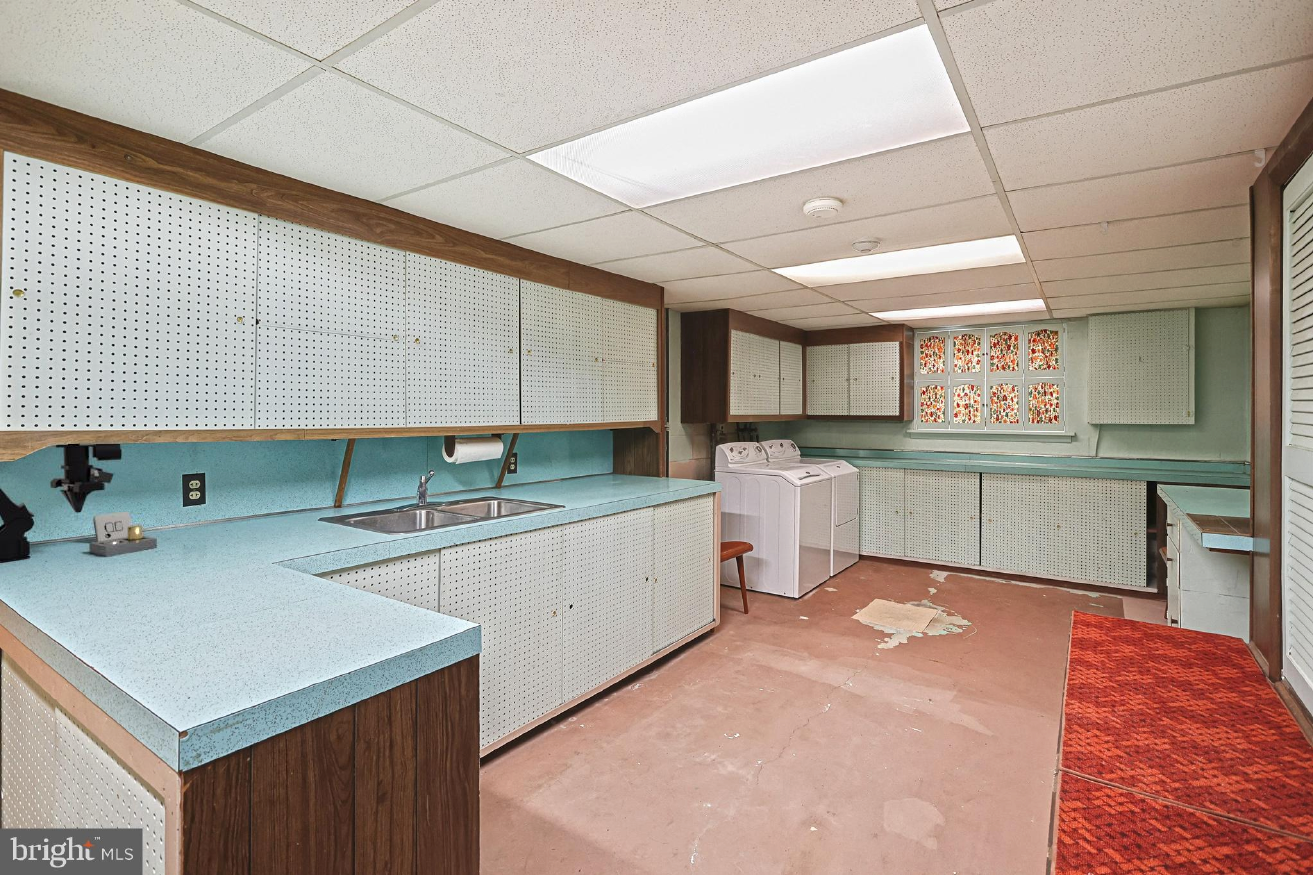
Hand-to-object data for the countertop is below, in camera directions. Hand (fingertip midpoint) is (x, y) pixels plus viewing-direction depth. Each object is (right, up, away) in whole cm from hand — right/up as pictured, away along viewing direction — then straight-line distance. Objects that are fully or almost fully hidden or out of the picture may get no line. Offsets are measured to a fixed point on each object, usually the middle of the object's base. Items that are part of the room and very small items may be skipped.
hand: (78, 512), depth 189 cm
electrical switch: (-3, -11, +15) cm, 19 cm away
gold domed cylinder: (+13, -12, +5) cm, 18 cm away
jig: (+12, -12, +3) cm, 17 cm away
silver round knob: (+10, -12, 0) cm, 16 cm away
